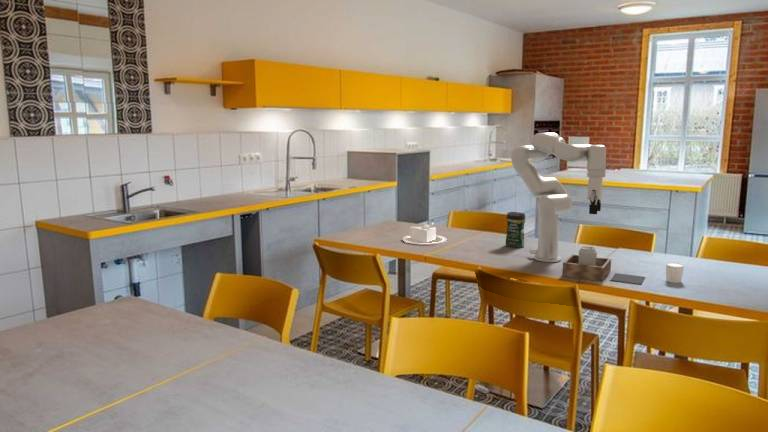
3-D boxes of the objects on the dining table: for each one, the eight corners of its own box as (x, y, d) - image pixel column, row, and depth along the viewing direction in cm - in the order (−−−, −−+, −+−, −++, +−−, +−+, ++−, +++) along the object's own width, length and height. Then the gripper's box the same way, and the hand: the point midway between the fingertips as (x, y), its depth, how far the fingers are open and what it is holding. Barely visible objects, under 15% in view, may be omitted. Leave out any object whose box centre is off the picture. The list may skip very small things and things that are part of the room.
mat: (610, 280, 242) (610, 279, 242) (615, 273, 252) (615, 273, 252) (641, 284, 236) (641, 283, 235) (645, 277, 246) (645, 276, 246)
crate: (562, 275, 250) (562, 262, 249) (571, 267, 264) (572, 254, 263) (603, 281, 241) (603, 267, 240) (610, 271, 255) (611, 258, 254)
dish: (453, 239, 326) (453, 219, 324) (433, 248, 306) (433, 227, 304) (416, 234, 339) (416, 216, 337) (394, 243, 319) (394, 223, 317)
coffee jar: (503, 246, 306) (504, 212, 303) (509, 243, 313) (510, 210, 309) (520, 248, 300) (521, 214, 297) (526, 246, 307) (527, 211, 303)
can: (596, 276, 248) (598, 249, 246) (578, 275, 249) (580, 249, 247) (594, 272, 255) (595, 245, 253) (576, 271, 257) (578, 245, 255)
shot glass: (661, 278, 244) (662, 262, 243) (676, 278, 244) (678, 262, 243) (670, 283, 237) (671, 267, 236) (686, 282, 238) (687, 266, 237)
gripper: (590, 171, 257) (589, 209, 260) (583, 175, 242) (582, 214, 245) (608, 172, 254) (606, 210, 256) (602, 175, 239) (601, 215, 241)
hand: (594, 212), depth 251 cm, fingers open, 9 cm apart
